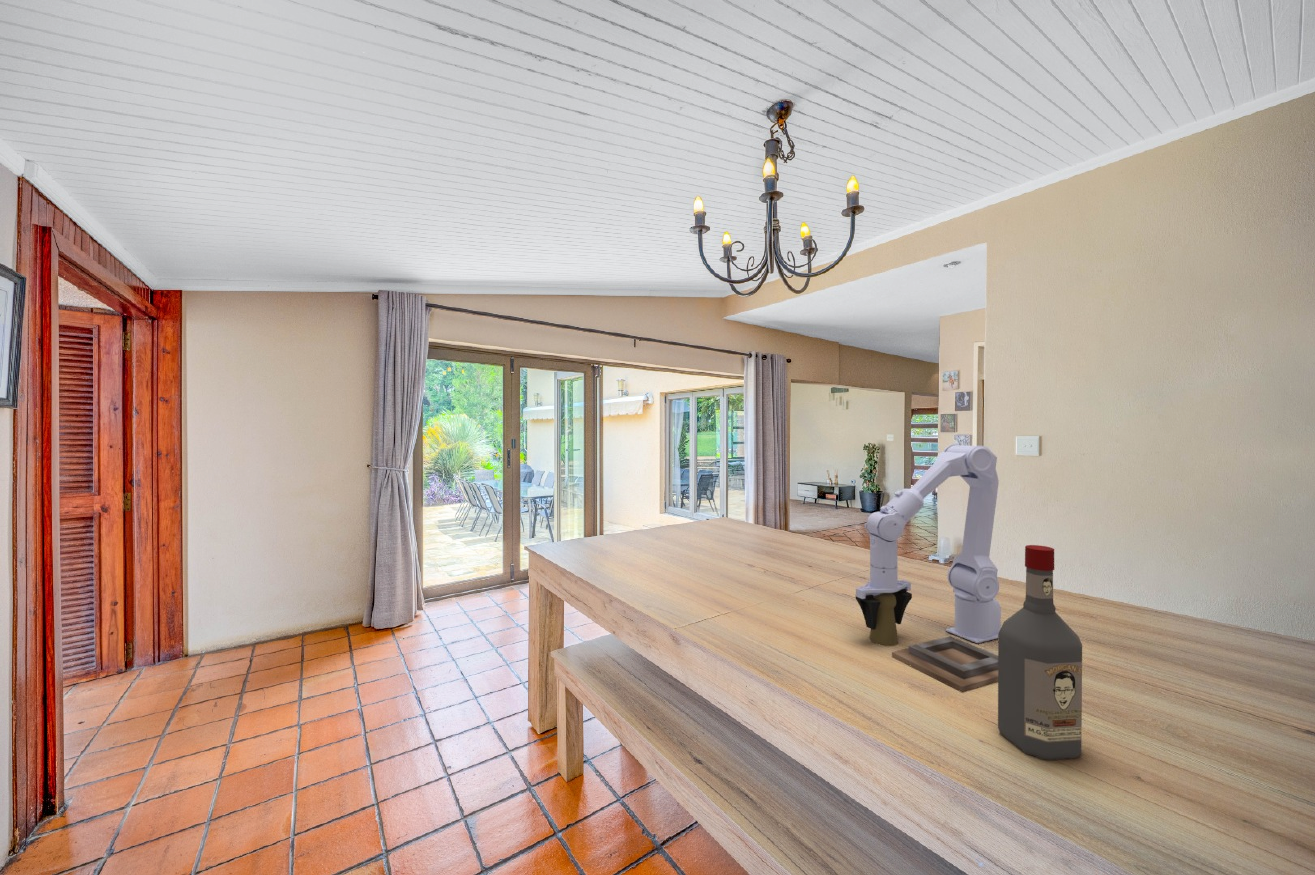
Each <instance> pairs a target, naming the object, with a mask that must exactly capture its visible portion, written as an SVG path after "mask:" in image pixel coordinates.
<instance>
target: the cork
mask: <svg viewBox="0 0 1315 875" xmlns="http://www.w3.org/2000/svg"><path fill="white" fill-rule="evenodd" d="M873 598H875V600H878V601H880V602H881V603H880V605H879V608H878V612H877V623H876V629H874V630H872V629H870V632H869V641H870V642H872V643H874V644H876V643H877V644H876V645H879V644H880V646H884V647H885V646H886V647H892V646H893V647H894V646H896V645H898V644H899V638H898V630H897V623H896V622H895V615H894V607H895V606H896V597H895V596H894V594H892V593H881V594H880V595H875V596H873Z"/></svg>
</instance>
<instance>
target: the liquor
mask: <svg viewBox="0 0 1315 875" xmlns="http://www.w3.org/2000/svg"><path fill="white" fill-rule="evenodd" d="M1024 547H1025V548H1024V567H1025V599H1024V601H1023V604H1022V605H1023V606H1022V607H1021V608H1020V609H1019V610H1017V611H1016V612H1015V613H1014V614H1012V615H1011V616H1010V617H1008V618H1007V619H1006V620H1004V621H1003V623H1002V624H1001V629H1000V631H999V633H998V638H997V640H998V642H997V643H998V644H997V646H998V648H997V651H998V652H997V655H998V682H997V728H998V730H999V732H1000V734H1001V736H1003V737H1004V738H1006V740H1008V741H1009V742H1010V743H1011V744H1013V745H1014V746H1016V748H1018V749H1019V750H1020V751H1022V752H1023V753H1025V754H1026V755H1030V756H1033V757H1036V758H1038V759H1041V758H1042V759H1041V760H1045V761H1052V760H1054V759H1055V760H1066V759H1065V758H1070V759H1077V758H1079V757H1080V755H1081V754H1082V744H1083V743H1082V739H1083V738H1082V735H1083V733H1082V727H1083V726H1082V725H1083V722H1082V721H1083V717H1082V716H1083V714H1082V713H1083V711H1082V710H1083V706H1082V705H1083V644H1082V642H1081V639H1080V637H1079V635H1077V633H1076V632H1075V631H1074V630H1073V629H1072V628H1071V627H1070V626H1069V625H1068V624H1067V623H1066V621H1064V620H1063V618H1062V617H1061V616H1060V615H1059V614H1058V613H1057V612H1056V606H1055V604H1054V571H1055V548H1053V547H1050V546H1047V545H1046V546H1045V545H1039V544H1037V545H1036V544H1028V545H1027V544H1026V545H1025V546H1024Z"/></svg>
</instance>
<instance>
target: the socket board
mask: <svg viewBox="0 0 1315 875" xmlns="http://www.w3.org/2000/svg"><path fill="white" fill-rule="evenodd" d="M891 658H894V659H895V660H897V661H900V662H901V661H902V663H903V662H904V664H906V665H907V664H909V665H911V666H912V667H911V666H910V667H911V668H914V669H915V670H917V669H918V671H919V670H920V671H919V672H921V673H923V674H925V673H926V675H927V676H929V677H931V678H933V679H935V680H937V681H939V682H941V683H944V684H945V685H947V686H949V687H951V686H952V687H951V688H953V689H955V690H957V691H959V690H960V691H959V692H961V691H962V692H961V693H964V692H967V691H966V690H968V691H971V690H974V689H978V688H980V686H981V687H985V686H987V685H990V684H994V682H995V683H998V654H995V653H993V652H990V651H988V650H986V649H982V648H980V647H979V646H976V645H973V644H971V643H967V642H966V641H963V640H960V639H959V638H955V637H953V636H950V635H949V636H946V637H941V638H937V639H933V640H928V641H925V642H921V643H915V644H911V645H908V647H906V648H903V649H899V650H895V651H892V652H891ZM909 665H908V666H909ZM977 687H978V688H977ZM963 691H964V692H963Z"/></svg>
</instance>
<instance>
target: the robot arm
mask: <svg viewBox="0 0 1315 875" xmlns="http://www.w3.org/2000/svg"><path fill="white" fill-rule="evenodd" d="M997 461H998V457H997V455H995V453H994V452H993V451H992V450H991V449H990V448H989V447H987V446H985V445H961V444H954V443H953V444H949V445H947V446H946V447H945V448H944V449H943V451H941V452H939V453H938V454H937V457H936V460H935V461H934V462H933V463H932V465H930V467H928V469H927V470H926V471H925V472H924V474H923V475H921V477H920V478H918V480H917V481H916V482H915V483H914V484H913V486H912V487H910V488H902V489H901V490H899V489H898V490H896V491H895V493H894V496H893V497H892V498H891V499H890V501H888V502H887V503H886V504H885V505H882V506H881V507H880V510H879V511H875V512H872V513H871V514H869V516H868V517H867V521H866V522H865V523H864V529H865V530H866V532H867V534H868V535H869V564H870V565H869V580H868V581H867V583H866V584H864V585H862V586H859V587H856V588H855V601H856V602H857V603H858V605H859V606H860V609H861V611H862V616H863V618H864V622H865V627H866V628H869V629H870V630H871V629H872V630H874V629H876V623H877V612H878V608H879V605H880V603H881V602H880V601H878V600H875V598H873V596H875V595H880V594H881V593H892V594H894V596H895V597H896V606H895V607H894V615H895V622H896V625H901V624H902V621H903V617H904V615H905V611H906V608H907V607H908V604H909V603H910V601H911V600H912V598H913V594H912V592H910V591H912V590H911V589H912V588H911V584H912V582H910V581H907V580H904V579H903V580H898V577H899V574H898V569H899V568H898V567H899V566H898V539H899V538H901V537H902V536H903V533H904V530H905V526H906V525H907V523H908V522H909V521H910V520H911V519H912V518H913V517H914V516H915V515H917V514H918V513H919V511H920V510H922V509H923V508H924V499H925V498H926V497H927V496H929V494H931V493H932V492H933V491H935V490H936V489H937V488H938V487H939V486H940V485H942V484H943V483H945V481H946V480H948V479H949V478H951V477H961V478H962V479H963V481H964V482H965V483H967V485H968V486H969V492H968V500H967V506H966V515H965V521H964V530H963V539H962V546H961V552H959V554H957V555H955V556H954V557H953V560H952V564H951V567H949V569H948V572H947V582H948V583H949V585H950V586H951V588H952V592H953V593H954V626H951V627H948V628H947V627H946V629H945V631H946V632H948V633H950V634H953V635H955V636H958V637H959V638H960V637H961V638H962V639H966V640H968V641H969V642H973V643H975V644H980V643H984V642H989V641H993V640H996V639H997V640H998V633H999V631H1000V629H1001V627H1002V609H1001V608H1002V607H1001V605H1000V603H999V601H998V600H997V598H996V597H997V595H998V594H999V591H1000V582H999V578H998V568H997V565H995V564H994V562H993V561H992V560H991V558H990V554H991V544H992V538H993V529H994V522H995V514H996V513H995V512H996V506H997V499H998V492H999V482H1000V480H999V478H998V473H997V469H996V468H997V463H998V462H997ZM908 591H909V592H908Z"/></svg>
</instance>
